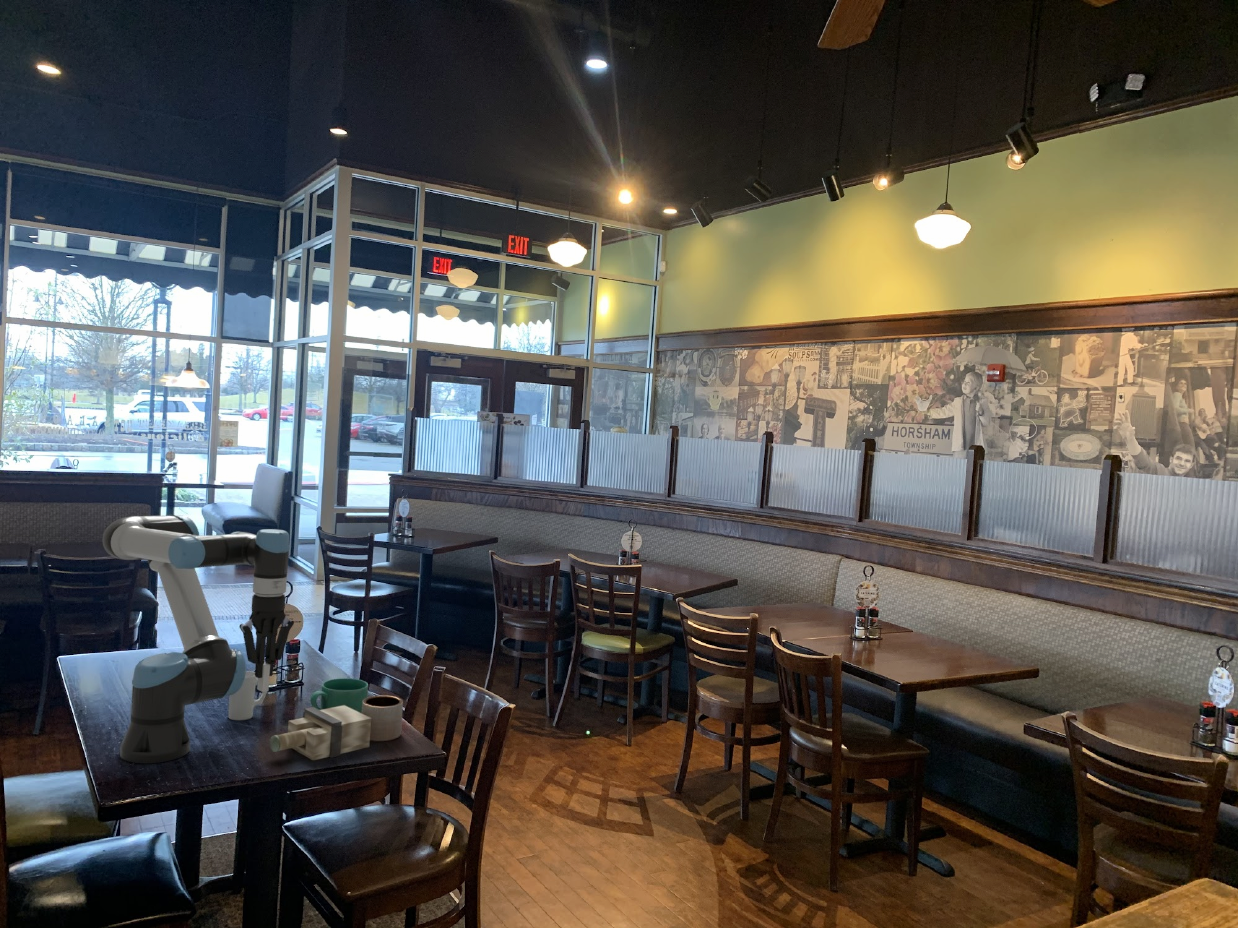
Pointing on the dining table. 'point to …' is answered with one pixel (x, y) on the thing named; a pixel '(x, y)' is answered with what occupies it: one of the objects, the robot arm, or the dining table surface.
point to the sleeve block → (332, 731)
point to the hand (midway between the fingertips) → (262, 689)
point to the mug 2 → (341, 694)
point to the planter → (383, 717)
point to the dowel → (289, 739)
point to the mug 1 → (245, 699)
